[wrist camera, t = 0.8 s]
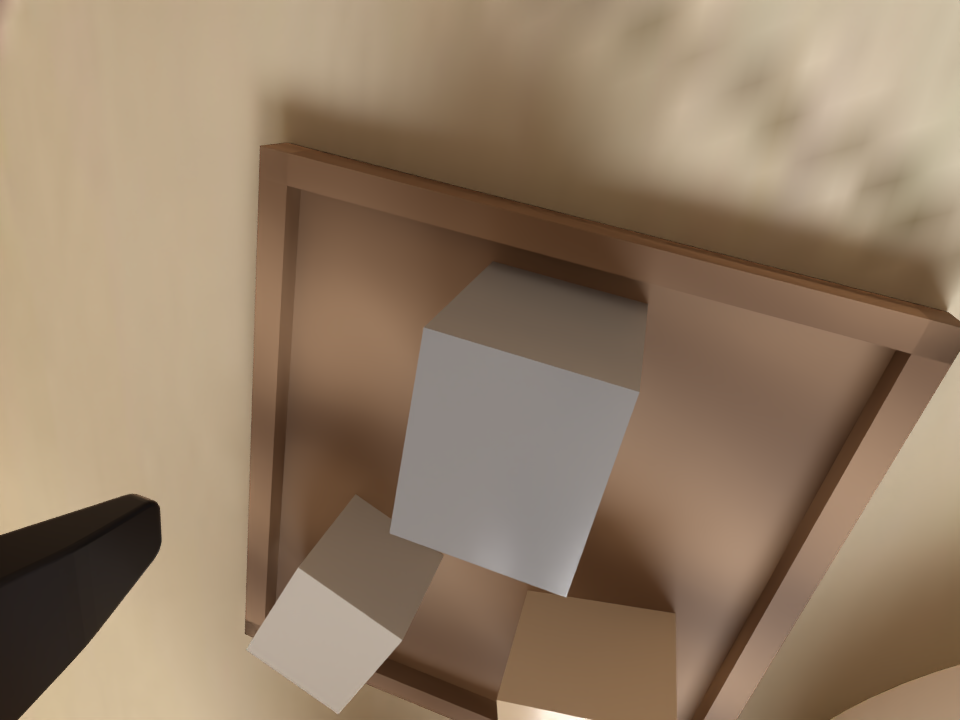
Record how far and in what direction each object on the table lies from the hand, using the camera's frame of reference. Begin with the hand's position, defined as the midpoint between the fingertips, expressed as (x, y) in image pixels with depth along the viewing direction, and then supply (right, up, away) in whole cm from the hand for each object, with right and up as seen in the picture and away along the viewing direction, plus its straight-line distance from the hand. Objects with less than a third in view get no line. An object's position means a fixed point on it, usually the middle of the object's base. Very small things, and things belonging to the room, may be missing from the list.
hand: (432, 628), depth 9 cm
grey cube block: (+2, +4, +8) cm, 9 cm away
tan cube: (+4, -6, +11) cm, 13 cm away
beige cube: (-3, -3, +12) cm, 13 cm away
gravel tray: (+2, -1, +10) cm, 11 cm away
